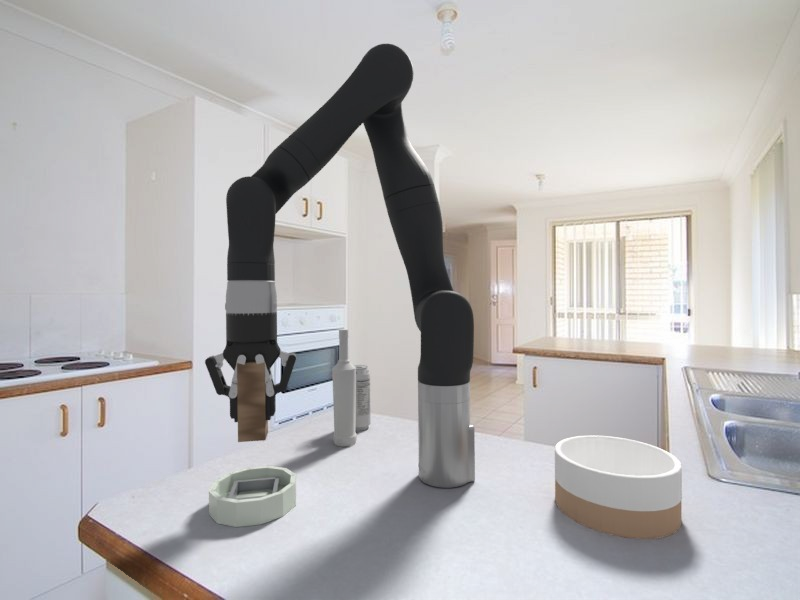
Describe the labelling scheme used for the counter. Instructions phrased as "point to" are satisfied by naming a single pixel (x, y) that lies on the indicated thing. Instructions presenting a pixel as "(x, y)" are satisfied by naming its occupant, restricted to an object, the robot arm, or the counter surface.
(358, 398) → the energy drink can
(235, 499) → the pale green faceted dish
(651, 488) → the bowl
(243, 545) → the counter surface
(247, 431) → the brown wooden block
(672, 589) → the counter surface
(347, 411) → the bottle
